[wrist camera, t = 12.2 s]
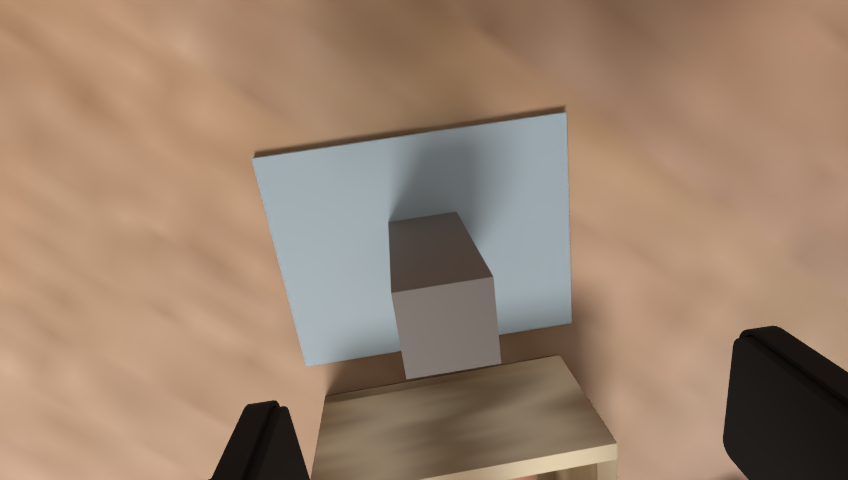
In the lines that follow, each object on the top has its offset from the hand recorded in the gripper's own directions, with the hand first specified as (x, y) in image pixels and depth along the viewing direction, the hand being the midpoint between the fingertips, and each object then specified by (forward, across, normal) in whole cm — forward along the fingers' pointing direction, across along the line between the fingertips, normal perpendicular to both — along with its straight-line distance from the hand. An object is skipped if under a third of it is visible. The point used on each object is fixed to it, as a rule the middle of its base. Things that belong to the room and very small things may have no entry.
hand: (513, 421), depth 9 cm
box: (+12, +1, +12) cm, 17 cm away
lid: (+12, +1, 0) cm, 12 cm away
